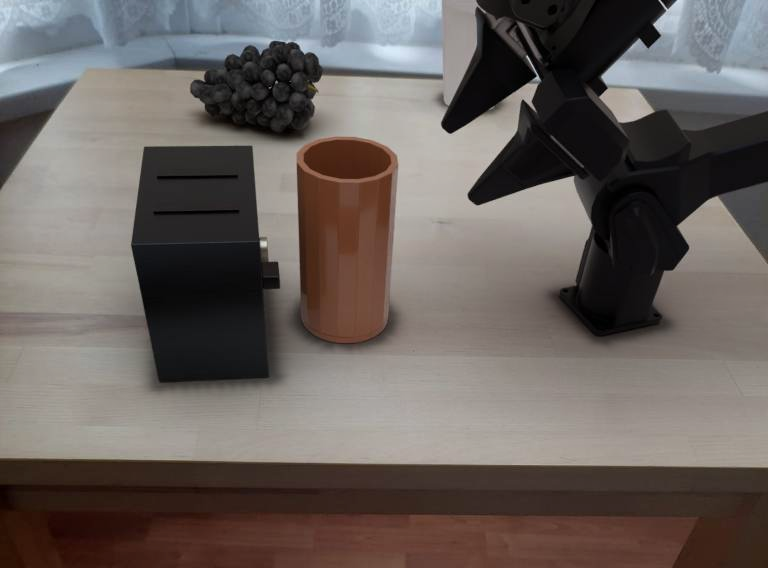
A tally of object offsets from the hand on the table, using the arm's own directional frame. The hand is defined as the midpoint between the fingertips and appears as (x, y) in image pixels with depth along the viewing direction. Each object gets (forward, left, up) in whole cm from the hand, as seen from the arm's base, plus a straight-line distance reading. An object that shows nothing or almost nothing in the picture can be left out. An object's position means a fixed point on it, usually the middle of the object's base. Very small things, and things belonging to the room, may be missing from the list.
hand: (457, 163), depth 57 cm
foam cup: (+38, -22, -12) cm, 45 cm away
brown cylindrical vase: (+1, +8, -12) cm, 15 cm away
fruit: (+39, +4, -12) cm, 41 cm away
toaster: (+3, +18, -12) cm, 22 cm away
